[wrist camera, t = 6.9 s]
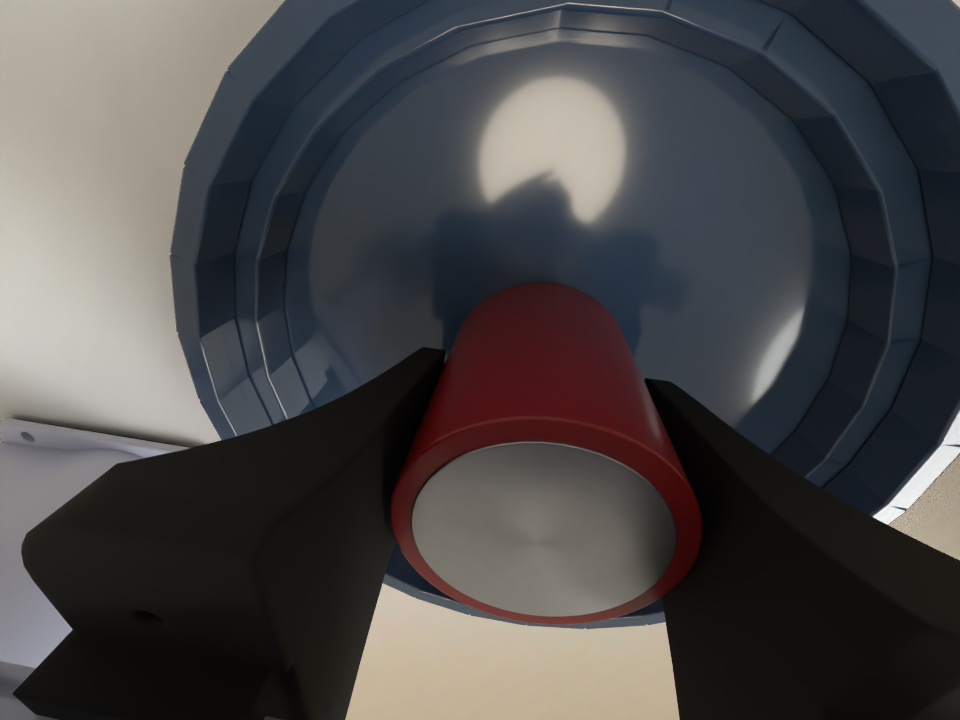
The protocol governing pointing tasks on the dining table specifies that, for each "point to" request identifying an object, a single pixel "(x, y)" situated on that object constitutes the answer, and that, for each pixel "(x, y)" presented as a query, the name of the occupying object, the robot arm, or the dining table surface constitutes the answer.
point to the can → (545, 469)
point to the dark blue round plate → (595, 214)
